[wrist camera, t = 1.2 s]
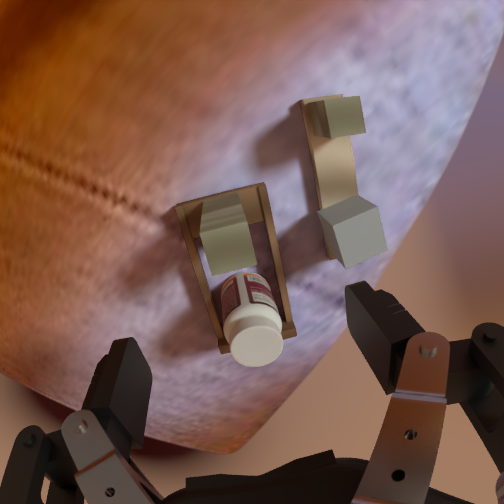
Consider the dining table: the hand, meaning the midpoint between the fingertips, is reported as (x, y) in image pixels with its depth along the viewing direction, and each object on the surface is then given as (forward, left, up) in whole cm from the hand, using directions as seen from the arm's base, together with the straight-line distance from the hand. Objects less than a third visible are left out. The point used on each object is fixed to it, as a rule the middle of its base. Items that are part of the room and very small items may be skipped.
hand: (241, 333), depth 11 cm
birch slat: (-1, +10, -18) cm, 20 cm away
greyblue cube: (+3, +10, -16) cm, 20 cm away
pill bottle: (+8, 0, -18) cm, 20 cm away
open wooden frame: (+6, 0, -18) cm, 18 cm away
